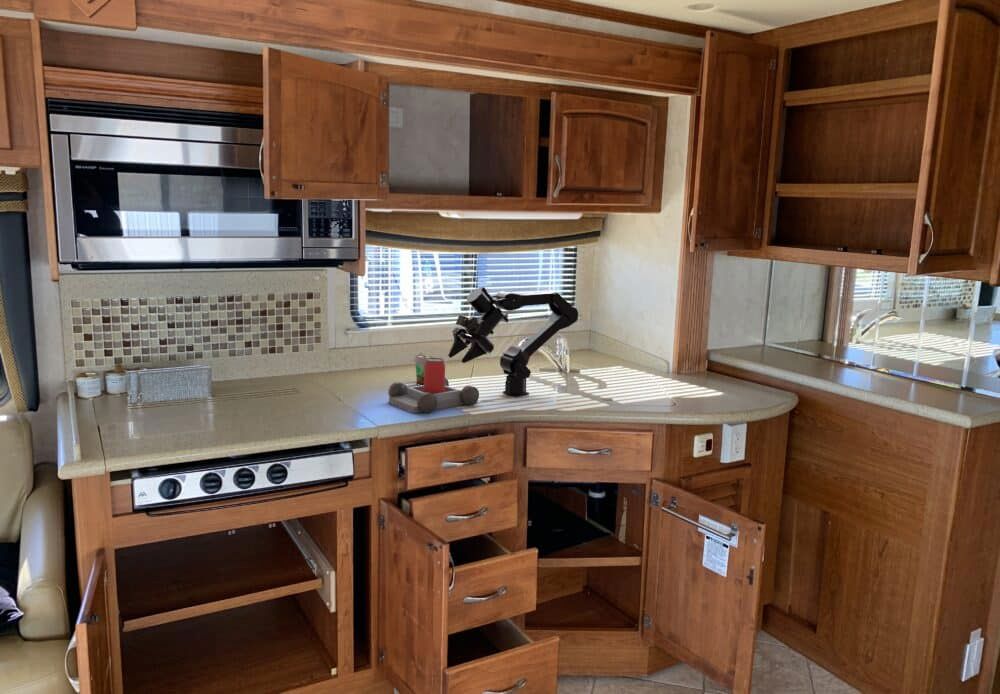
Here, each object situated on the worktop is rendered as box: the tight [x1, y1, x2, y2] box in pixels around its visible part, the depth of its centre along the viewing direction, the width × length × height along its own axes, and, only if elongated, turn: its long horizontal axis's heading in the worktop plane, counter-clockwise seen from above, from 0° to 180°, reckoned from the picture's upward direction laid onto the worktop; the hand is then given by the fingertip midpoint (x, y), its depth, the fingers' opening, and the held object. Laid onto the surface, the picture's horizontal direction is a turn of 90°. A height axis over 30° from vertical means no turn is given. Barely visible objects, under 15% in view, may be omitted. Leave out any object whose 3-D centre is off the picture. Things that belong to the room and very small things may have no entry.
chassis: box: [387, 377, 480, 414], centre depth 247 cm, size 24×18×6 cm
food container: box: [413, 352, 434, 386], centre depth 271 cm, size 12×6×10 cm, turn 40°
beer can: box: [424, 357, 446, 394], centre depth 246 cm, size 7×7×12 cm
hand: (455, 359), depth 249 cm, fingers open, 9 cm apart
